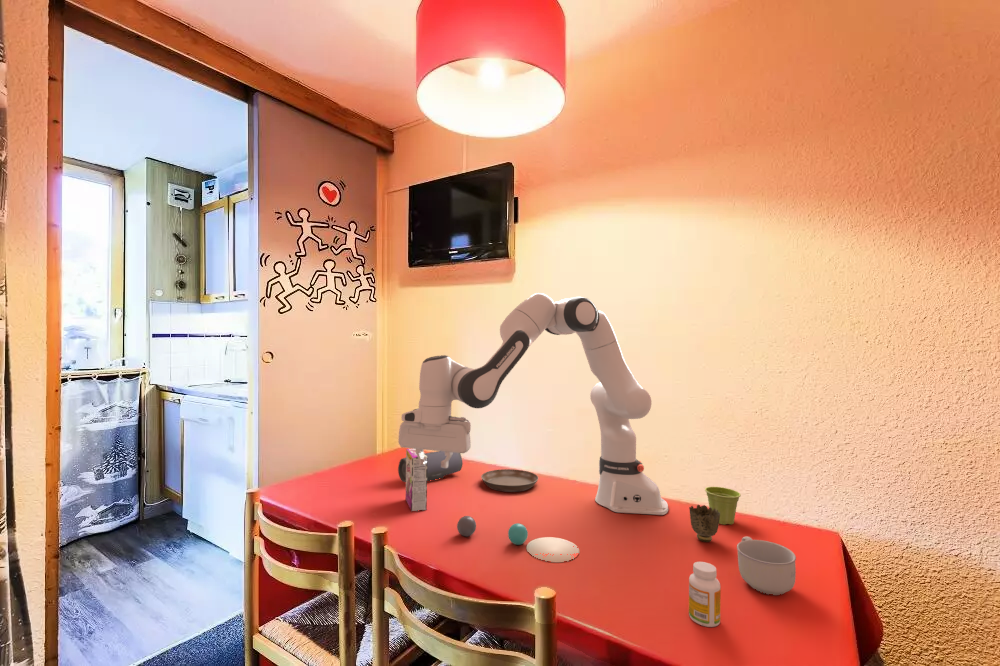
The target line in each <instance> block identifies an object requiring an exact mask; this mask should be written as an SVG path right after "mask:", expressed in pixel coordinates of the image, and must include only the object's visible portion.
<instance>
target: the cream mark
mask: <svg viewBox="0 0 1000 666" xmlns="http://www.w3.org/2000/svg"><path fill="white" fill-rule="evenodd" d="M573 546H574V547H573ZM577 547H578V546H577V545H576V544H575V543H574V542H572V541H569V540H567V539H564V538H560V537H552V536H544V537H543V536H542V537H538V538H535V539H532V540H531V541H529V542H528V543H527V545H526V551H527V553H528V552H529V553H530V554H531V555H532V556H531V555H530V554H529V553H528V554H529V555H530V556H531V557H533V556H534V557H533V558H535V557H536V558H535V559H537V558H538V559H537V560H539V559H541V560H540V561H542V560H545V561H544V562H547V561H551V562H550V563H565V562H564V561H567V562H570V561H569V560H571V559H572V558H573V560H575V559H574V556H573V555H572V554H574V553H575V554H576V553H579V554H580V549H579V547H578V548H577ZM540 553H541V554H540ZM543 553H544V554H543ZM548 553H549V554H548ZM535 554H538V555H535ZM542 554H543V555H545V554H548V555H547V556H546V555H545V556H546V557H545V556H543V555H542ZM550 554H551V555H550ZM553 554H554V555H553ZM560 554H562V555H560ZM567 554H568V555H567ZM570 554H571V555H572V556H573V557H572V556H571V555H570ZM552 555H553V556H552ZM543 557H544V558H543ZM571 557H572V558H571ZM571 561H572V560H571Z"/></svg>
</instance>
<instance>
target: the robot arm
mask: <svg viewBox="0 0 1000 666" xmlns="http://www.w3.org/2000/svg"><path fill="white" fill-rule="evenodd" d="M544 331H546V332H547V333H549V334H550V335H556V336H560V335H565V336H566V335H573V334H576V335H577V336H578V337H579V338H580V341H581V345H582V348H583V350H584V351H583V352H584V353H585V357H586V359H587V363H588V365H589V368H590V371H591V372H592V374H593V375H594V376H595V377H596V378H597V380H598V381H599V382H597V383H596V384H595V385H593V387H592V388H591V390H590V394H589V395H590V397H589V398H590V401H591V403H592V405H593V406H594V408H595V412H596V415H597V421H598V425H599V429H600V456H599V460H598V474H599V481H598V482H599V483H598V488H597V493H596V494H595V499H594V500H595V502H596V503H597V504H599V505H600V506H603V507H604V508H607V509H609V510H610V511H612V512H615V513H622V514H623V513H624V514H639V515H640V514H641V515H654V516H655V515H657V516H663V515H666V514H668V512H669V505H668V502H667V501H666V500H665V499H664V498H662V495H661V491H660V488H659V486H658V484H657V483H656V482H655V481H653V480H652V479H651V478H650V477H649V476H648V475H646V474H645V473H644V470H645V466H644V465H643V463H642V461H641V460H638V459H637V436H636V433H635V431H634V429H633V428H632V426H631V423H630V420H638V419H642V418H644V417H646V416H647V415H648V414H649V413H650V411H651V408H652V398H651V395H650V393H649V392H648V391H647V390H646V389H645V388H644V387H643V386H642V385H641V384H640V383H639V382H638V380H637V379H636V377H635V376H634V374H633V373H632V370H630V368H629V366H628V364H627V362H626V360H625V358H624V355H623V353H622V350H621V349H622V348H621V347H620V343H619V342H618V339H617V335H616V333H615V330H614V328H613V326H612V324H611V322H610V320H609V318H608V316H607V315H606V314H605V313H604V312H603V311H601V310H598V309H597V307H596V305H595V304H594V302H593V301H592V300H591V299H589V298H588V297H585V296H584V297H582V296H574V297H570V298H569V297H568V298H564V299H563V298H562V299H561V300H559V301H558V300H557V301H554V300H553V299H552V298H551V297H550V296H548V295H547V294H545V293H542V292H538V293H537V292H536V293H534V294H532V295H530V296H528V297H527V298H526V299H524V300H523V301H521V303H520V304H518V305H517V306H516V307H515V308H514V309H512V311H510V313H509V314H508V315H507V316H506V317H505V318H504V320H503V321H502V323H501V324H500V326H499V335H500V338H501V340H502V344H501V346H499V348H498V349H497V350H496V351H495V353H493V355H492V356H491V357H490V358H489V359H488V361H487V362H486V363H485V364H483V365H482V366H480V367H477V368H471V367H468V366H466V365H463V364H461V363H459V362H457V361H455V360H454V359H452V358H451V357H450V356H449V355H445V354H443V355H435V356H430V357H427V358H425V359H424V360H423V361H422V363H421V366H420V372H419V383H418V384H419V386H418V387H419V388H418V389H419V390H418V391H419V393H420V394H419V395H420V397H419V400H418V401H419V402H418V408H415V409H412V410H409V411H406V412H403V413H402V414H401V421H402V422H401V423H400V425H399V430H398V431H399V432H398V445H399V446H400V447H401V448H406V449H413V448H415V449H416V454H417V456H418V458H419V465H422V466H425V465H426V464H427V462H426V461H427V458H424V456H423V453H422V452H425V451H433V452H437V451H444V452H445V456H447V457H446V458H445V460H443V461H441V468H448V463H449V460H450V458H451V456H452V455H453V452H454V453H460V454H465V453H467V452H468V451H470V449H471V443H472V442H471V434H470V433H471V427H472V426H471V422H470V420H468V418H466V417H464V416H460V417H458V416H452V403H453V401H458V402H461V403H462V404H463V403H464V404H465V405H467V406H468V407H469V408H473V409H483V408H486V407H487V406H489V405H490V404H492V402H493V401H494V400H495V399H496V396H497V395H498V392H499V389H500V387H501V385H502V383H503V382H504V380H505V378H507V376H508V375H509V374H510V373H511V371H512V370H513V369H514V367H515V366H516V365H517V364H518V362H519V361H520V360H521V358H522V357H523V356H524V355H525V354H526V352H527V350H528V349H529V347H530V346H531V345H532V344H533V343H534V342H535V341H536V340H537V339H538V338H539V337H540V336H541V334H543V332H544ZM424 450H425V451H424Z"/></svg>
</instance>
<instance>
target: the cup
mask: <svg viewBox="0 0 1000 666" xmlns="http://www.w3.org/2000/svg"><path fill="white" fill-rule="evenodd" d="M688 507H689V508H688V509H689V518H690V525H691V528H692V530H693V531H694V532H695V534H696V538H697V540H699V541H700V542H702V543H710V542H712V541H713V538H712V537H713V536H715V535H716V534H717V533H718V529H719V526H720V525H719V519H720V512H718V510H717V511H716V509H713V511H712V508H711V507H710V508H709V507H708V506H706V505H705V504H703V505H699V504H697V505H696V507H694V505H691V506H688Z"/></svg>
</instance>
